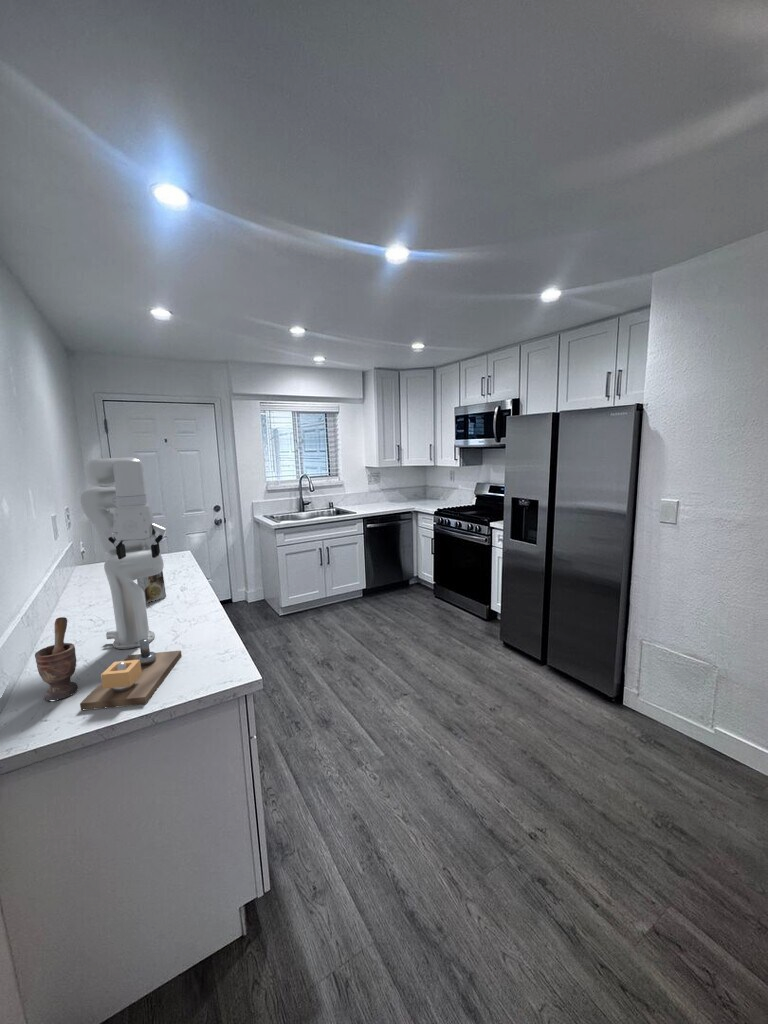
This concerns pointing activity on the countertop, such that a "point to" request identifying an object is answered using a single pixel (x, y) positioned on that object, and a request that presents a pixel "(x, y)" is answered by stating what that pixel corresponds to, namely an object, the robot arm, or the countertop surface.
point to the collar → (121, 674)
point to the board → (143, 684)
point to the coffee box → (153, 587)
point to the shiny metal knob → (145, 653)
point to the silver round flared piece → (122, 689)
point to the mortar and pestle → (58, 664)
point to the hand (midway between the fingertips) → (139, 557)
